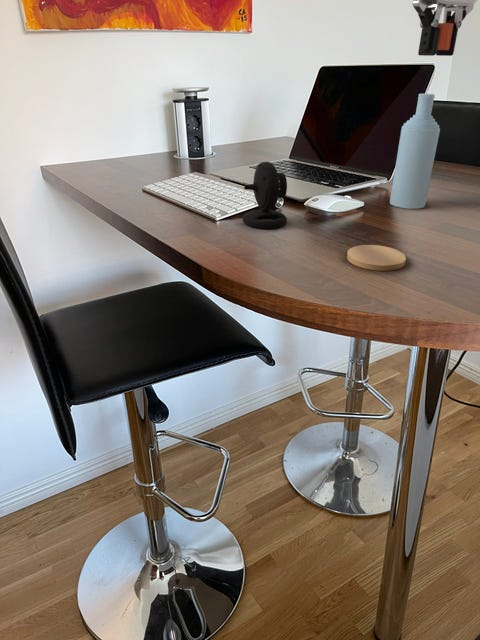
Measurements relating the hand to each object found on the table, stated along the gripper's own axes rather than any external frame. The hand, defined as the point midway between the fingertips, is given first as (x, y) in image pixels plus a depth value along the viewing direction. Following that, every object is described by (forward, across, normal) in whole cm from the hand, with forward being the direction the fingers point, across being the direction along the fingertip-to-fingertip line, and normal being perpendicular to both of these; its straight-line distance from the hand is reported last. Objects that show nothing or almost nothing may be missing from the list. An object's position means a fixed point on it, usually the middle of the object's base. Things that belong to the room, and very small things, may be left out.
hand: (435, 54), depth 84 cm
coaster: (+26, -28, -18) cm, 41 cm away
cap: (-1, 0, 0) cm, 1 cm away
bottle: (+26, 0, 0) cm, 26 cm away
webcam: (+26, -31, +4) cm, 41 cm away
